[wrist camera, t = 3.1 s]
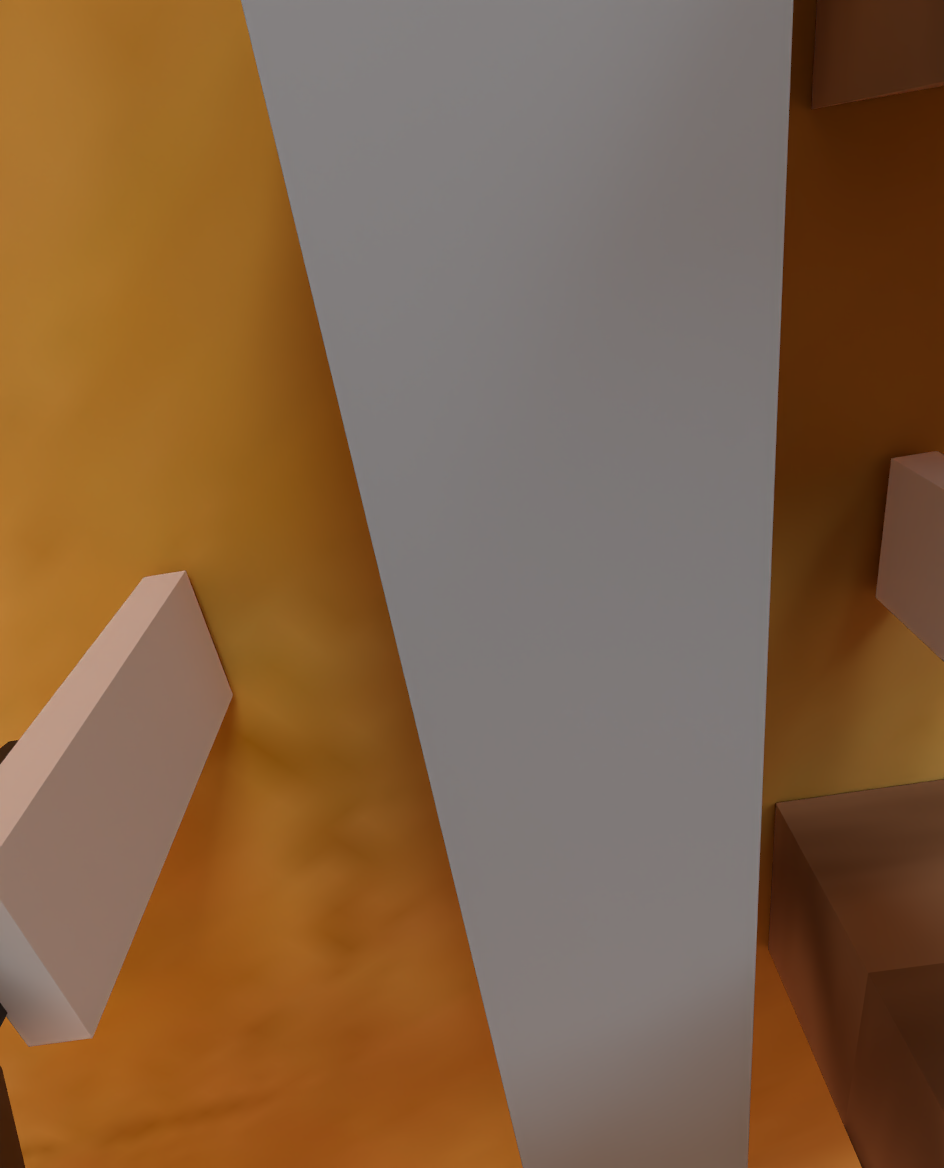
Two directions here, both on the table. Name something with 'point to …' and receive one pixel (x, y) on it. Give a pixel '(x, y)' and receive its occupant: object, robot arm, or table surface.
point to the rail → (567, 501)
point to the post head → (876, 49)
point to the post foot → (868, 959)
